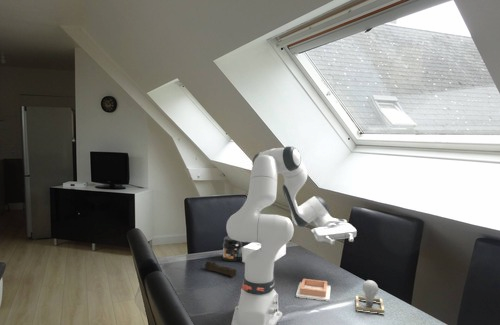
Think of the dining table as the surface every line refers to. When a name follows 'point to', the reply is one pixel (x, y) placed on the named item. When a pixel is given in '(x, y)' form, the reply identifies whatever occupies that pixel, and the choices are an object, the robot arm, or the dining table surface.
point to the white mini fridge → (255, 246)
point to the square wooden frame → (368, 307)
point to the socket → (313, 290)
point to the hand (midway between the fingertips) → (342, 241)
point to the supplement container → (231, 249)
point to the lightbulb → (370, 291)
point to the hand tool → (220, 268)
